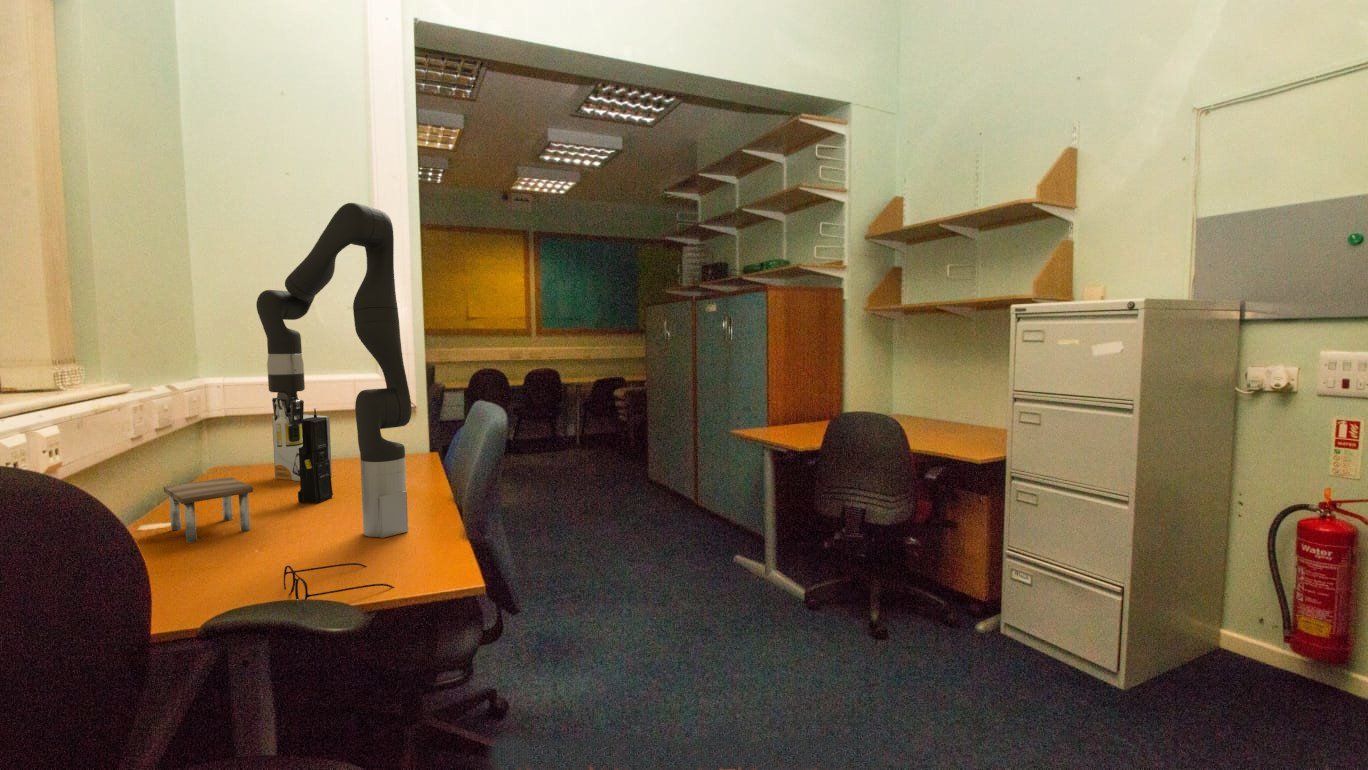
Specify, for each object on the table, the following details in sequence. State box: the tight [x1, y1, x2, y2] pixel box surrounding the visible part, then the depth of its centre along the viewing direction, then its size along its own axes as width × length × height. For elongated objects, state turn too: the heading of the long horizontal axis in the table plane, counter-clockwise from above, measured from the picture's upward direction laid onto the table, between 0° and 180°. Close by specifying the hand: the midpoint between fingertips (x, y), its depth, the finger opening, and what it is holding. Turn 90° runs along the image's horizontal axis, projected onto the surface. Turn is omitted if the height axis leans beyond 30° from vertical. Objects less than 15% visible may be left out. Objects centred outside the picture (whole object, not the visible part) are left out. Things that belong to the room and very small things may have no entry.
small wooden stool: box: [163, 476, 254, 544], centre depth 143 cm, size 16×13×10 cm
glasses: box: [283, 562, 395, 601], centre depth 111 cm, size 14×15×5 cm
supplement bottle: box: [276, 409, 303, 450], centre depth 152 cm, size 5×5×10 cm
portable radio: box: [297, 409, 334, 504], centre depth 167 cm, size 8×6×25 cm
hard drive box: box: [271, 413, 333, 482], centre depth 193 cm, size 16×8×20 cm, turn 73°
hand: (289, 439), depth 153 cm, fingers closed on supplement bottle, 5 cm apart
